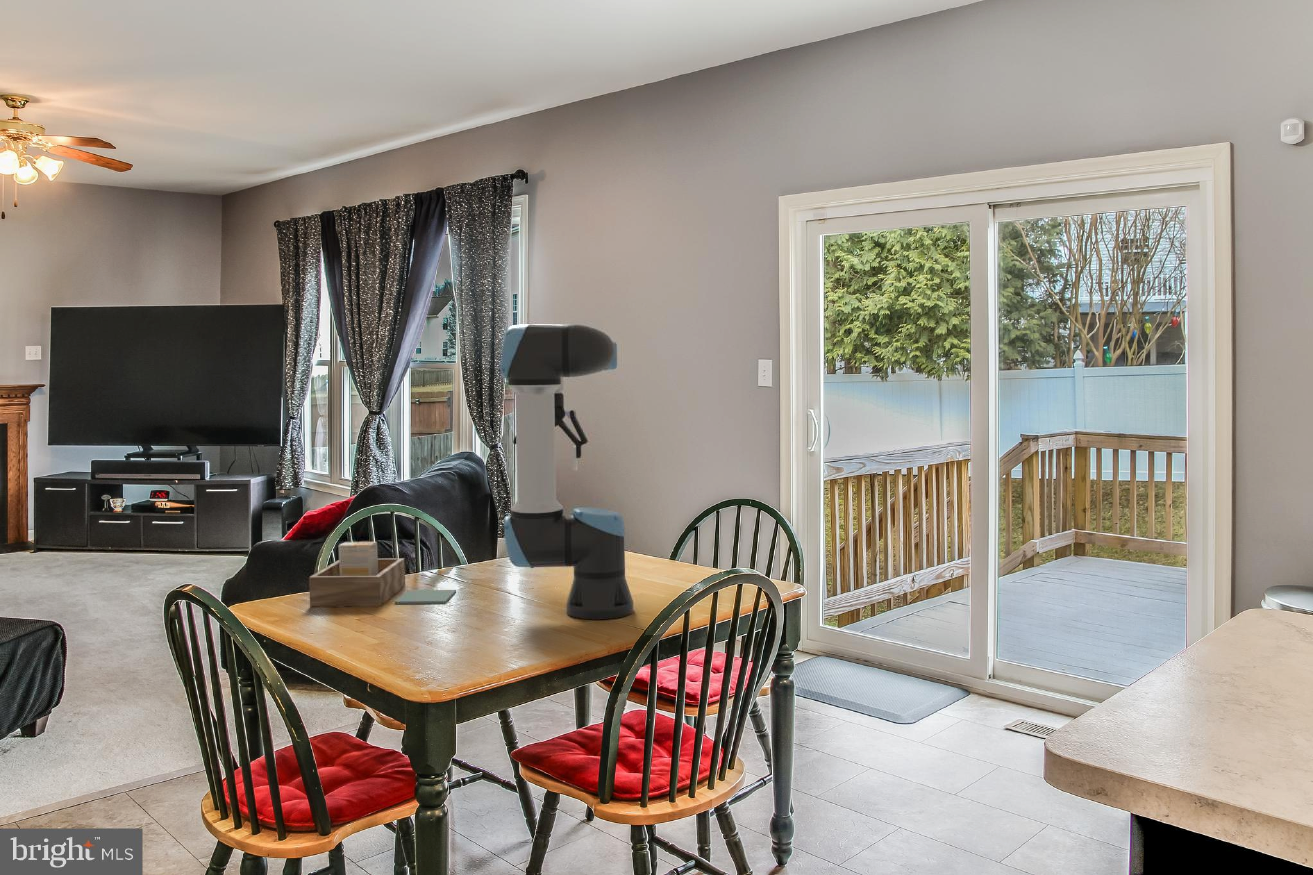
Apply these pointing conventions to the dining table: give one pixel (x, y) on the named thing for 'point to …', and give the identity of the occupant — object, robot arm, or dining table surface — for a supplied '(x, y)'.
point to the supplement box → (358, 559)
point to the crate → (357, 585)
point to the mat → (425, 597)
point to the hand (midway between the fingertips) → (550, 470)
